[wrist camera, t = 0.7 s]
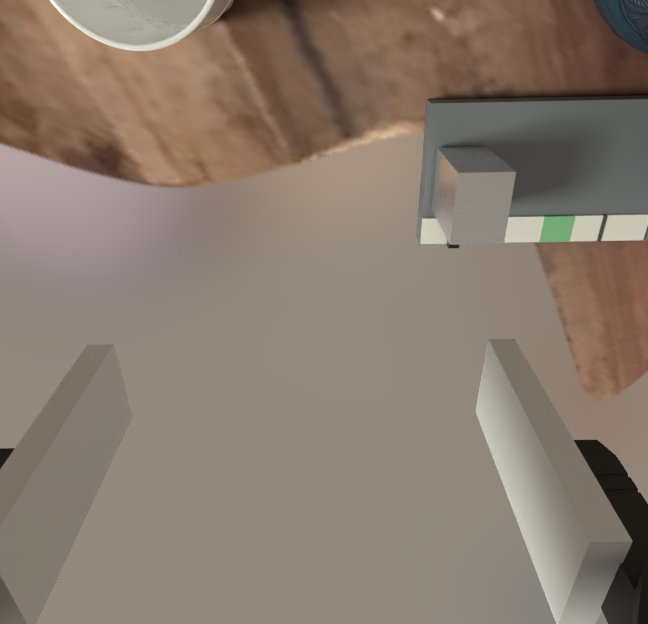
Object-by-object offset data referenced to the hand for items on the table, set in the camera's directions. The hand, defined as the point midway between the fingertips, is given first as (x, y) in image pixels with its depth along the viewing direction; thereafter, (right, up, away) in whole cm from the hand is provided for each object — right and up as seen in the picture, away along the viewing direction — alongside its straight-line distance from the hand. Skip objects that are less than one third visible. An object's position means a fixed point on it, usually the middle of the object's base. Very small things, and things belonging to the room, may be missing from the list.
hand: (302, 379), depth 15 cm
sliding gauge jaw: (+9, +9, +18) cm, 22 cm away
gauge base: (+16, +11, +19) cm, 27 cm away
